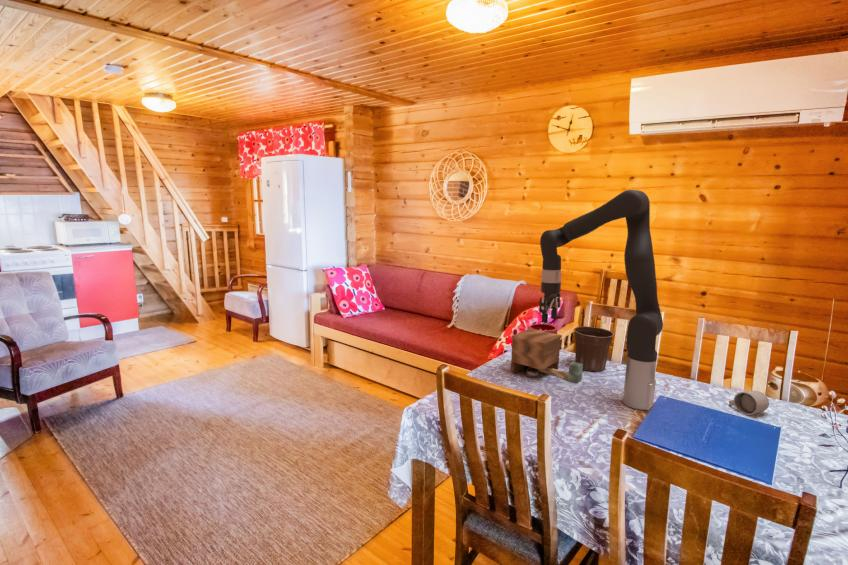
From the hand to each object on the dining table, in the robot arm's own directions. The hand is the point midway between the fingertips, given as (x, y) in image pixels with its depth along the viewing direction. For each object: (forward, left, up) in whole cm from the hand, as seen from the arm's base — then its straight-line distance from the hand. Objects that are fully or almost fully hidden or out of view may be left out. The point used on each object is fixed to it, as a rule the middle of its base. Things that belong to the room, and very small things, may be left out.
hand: (549, 320), depth 178 cm
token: (+4, +3, -24) cm, 24 cm away
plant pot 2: (+16, -30, -24) cm, 41 cm away
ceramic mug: (-66, -19, -24) cm, 72 cm away
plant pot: (-10, -24, -24) cm, 35 cm away
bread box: (+5, -1, -23) cm, 24 cm away
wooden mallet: (-2, -4, -23) cm, 24 cm away
